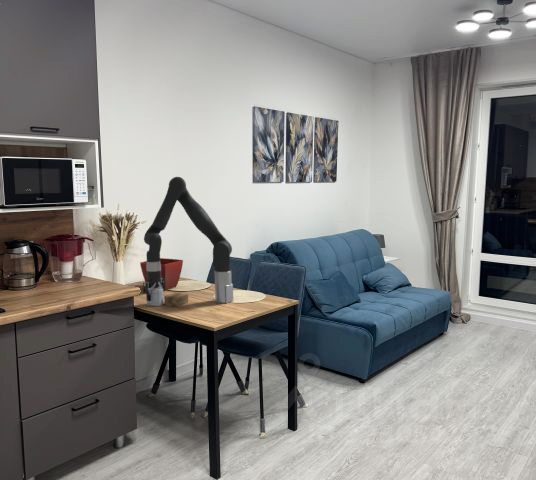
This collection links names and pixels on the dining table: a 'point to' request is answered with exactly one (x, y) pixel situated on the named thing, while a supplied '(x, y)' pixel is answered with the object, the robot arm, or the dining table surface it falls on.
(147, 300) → the robot arm
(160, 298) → the medicine box
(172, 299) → the walnut block
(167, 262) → the plant pot
